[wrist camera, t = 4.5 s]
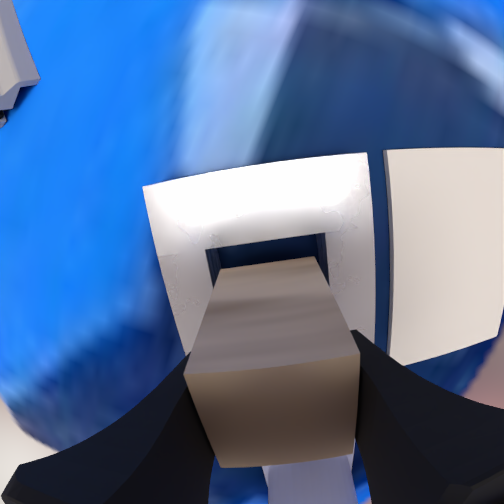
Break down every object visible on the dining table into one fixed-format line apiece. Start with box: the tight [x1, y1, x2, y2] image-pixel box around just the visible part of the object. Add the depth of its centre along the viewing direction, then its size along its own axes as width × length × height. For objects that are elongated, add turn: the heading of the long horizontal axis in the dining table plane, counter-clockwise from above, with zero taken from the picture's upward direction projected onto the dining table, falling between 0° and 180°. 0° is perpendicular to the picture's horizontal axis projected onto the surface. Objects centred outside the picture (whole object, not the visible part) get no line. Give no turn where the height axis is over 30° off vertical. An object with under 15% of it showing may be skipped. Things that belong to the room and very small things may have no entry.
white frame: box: [143, 153, 375, 356], centre depth 17 cm, size 16×10×3 cm, turn 9°
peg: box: [184, 256, 360, 468], centre depth 10 cm, size 4×4×7 cm
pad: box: [383, 148, 504, 366], centre depth 17 cm, size 14×10×1 cm
